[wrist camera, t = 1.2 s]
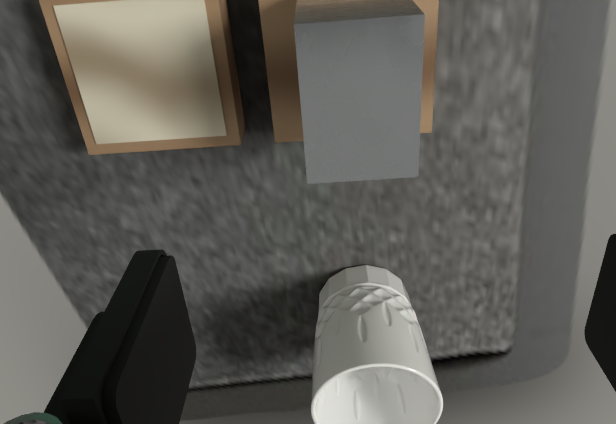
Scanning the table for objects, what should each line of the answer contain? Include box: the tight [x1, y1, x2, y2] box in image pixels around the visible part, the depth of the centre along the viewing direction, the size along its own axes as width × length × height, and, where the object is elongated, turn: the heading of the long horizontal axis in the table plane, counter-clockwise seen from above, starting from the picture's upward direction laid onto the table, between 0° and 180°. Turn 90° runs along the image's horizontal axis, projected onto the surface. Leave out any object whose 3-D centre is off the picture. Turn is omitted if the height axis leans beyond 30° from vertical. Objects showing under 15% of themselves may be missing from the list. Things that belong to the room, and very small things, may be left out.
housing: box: [294, 0, 425, 184], centre depth 25 cm, size 7×5×7 cm
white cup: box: [311, 265, 443, 424], centre depth 36 cm, size 8×8×10 cm
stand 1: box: [39, 0, 245, 155], centre depth 29 cm, size 9×9×3 cm
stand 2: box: [258, 0, 439, 143], centre depth 29 cm, size 9×9×2 cm
